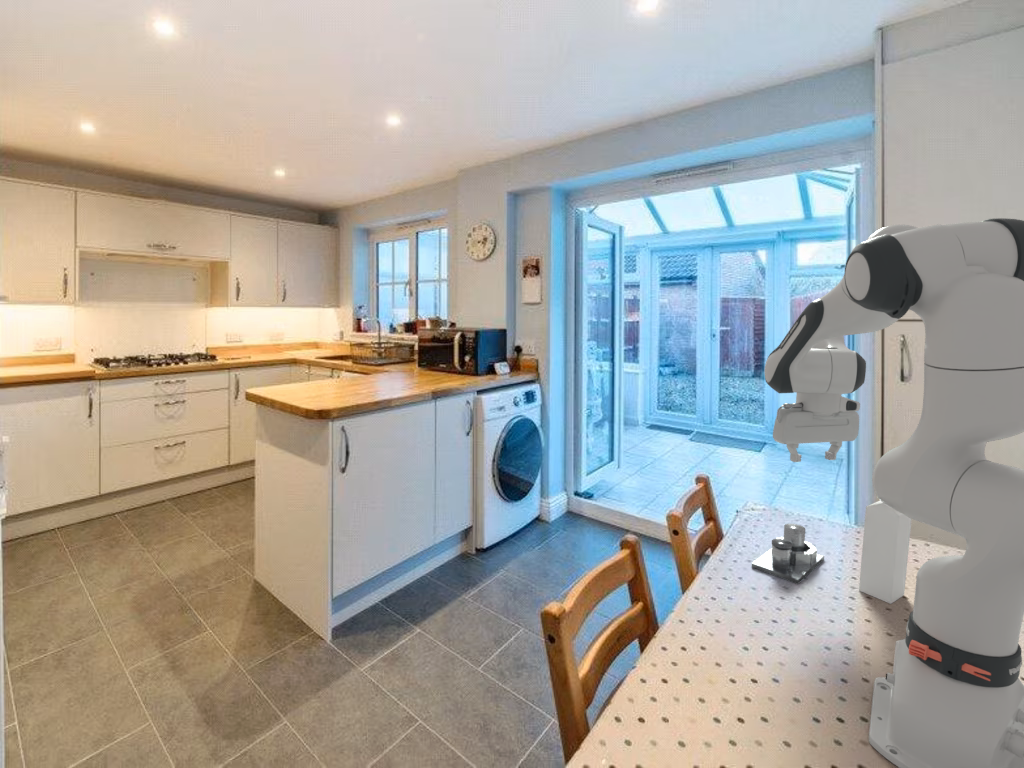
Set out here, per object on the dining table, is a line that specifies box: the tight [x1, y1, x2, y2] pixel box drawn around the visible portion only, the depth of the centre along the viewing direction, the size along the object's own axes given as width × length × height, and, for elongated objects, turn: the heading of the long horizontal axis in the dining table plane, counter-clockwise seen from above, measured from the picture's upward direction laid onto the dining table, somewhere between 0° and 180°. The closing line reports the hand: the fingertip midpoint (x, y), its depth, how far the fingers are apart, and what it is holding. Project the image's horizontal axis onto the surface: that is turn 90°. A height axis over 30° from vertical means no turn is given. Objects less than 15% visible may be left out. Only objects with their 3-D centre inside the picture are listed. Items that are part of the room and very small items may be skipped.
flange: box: [751, 536, 825, 585], centre depth 117 cm, size 16×10×7 cm, turn 130°
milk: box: [858, 500, 913, 605], centre depth 103 cm, size 6×6×22 cm
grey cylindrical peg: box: [783, 523, 806, 552], centre depth 119 cm, size 4×4×7 cm
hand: (812, 460), depth 117 cm, fingers open, 8 cm apart
